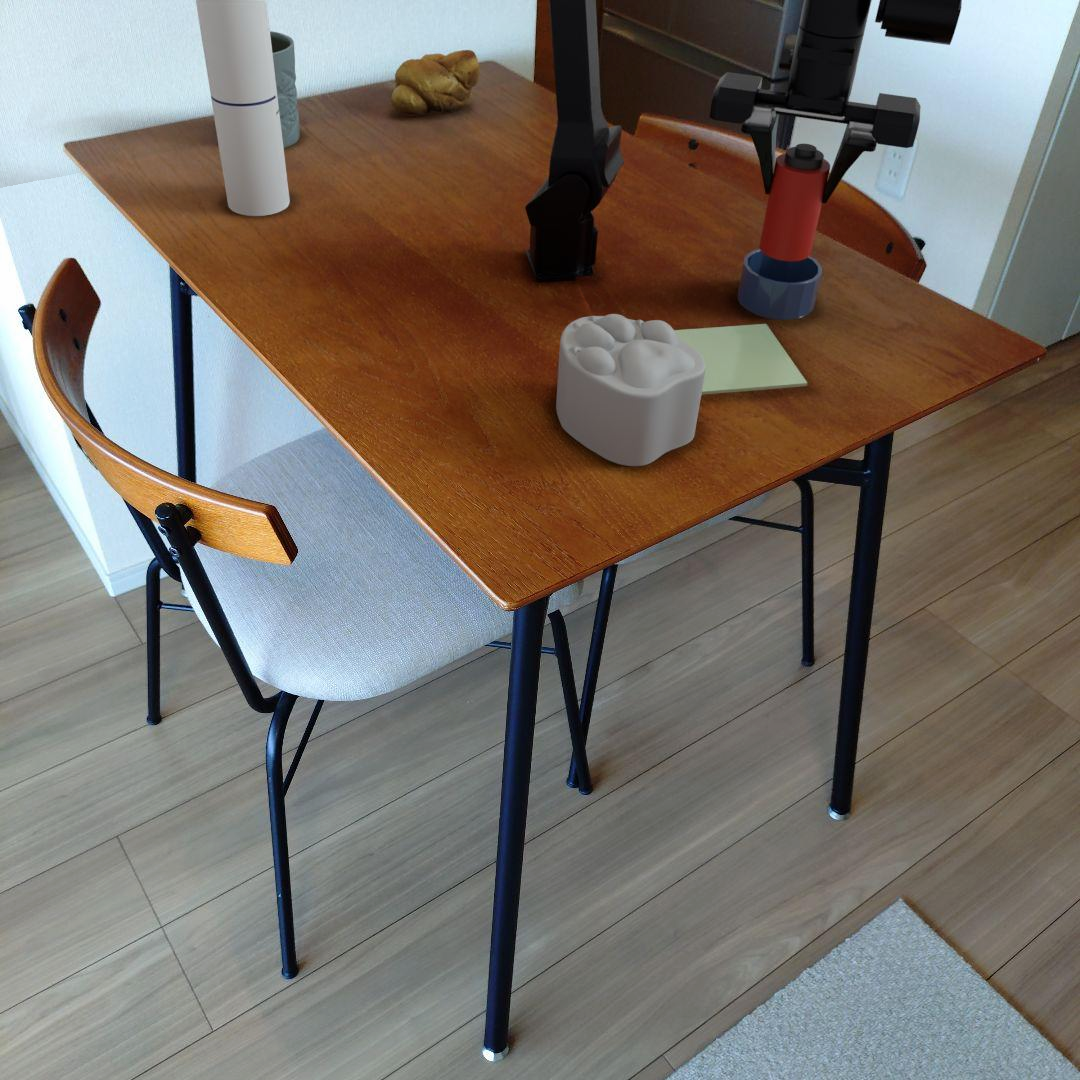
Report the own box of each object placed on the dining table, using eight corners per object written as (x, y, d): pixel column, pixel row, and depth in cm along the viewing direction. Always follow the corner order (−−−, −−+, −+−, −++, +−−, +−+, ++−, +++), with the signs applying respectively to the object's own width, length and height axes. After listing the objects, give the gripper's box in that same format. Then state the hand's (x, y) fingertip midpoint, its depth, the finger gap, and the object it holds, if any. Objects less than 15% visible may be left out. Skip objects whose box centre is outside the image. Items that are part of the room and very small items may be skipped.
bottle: (770, 262, 107) (791, 159, 100) (751, 239, 111) (770, 137, 104) (818, 259, 108) (842, 157, 101) (799, 236, 112) (820, 136, 105)
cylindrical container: (215, 208, 125) (176, -27, 109) (250, 185, 130) (218, -43, 114) (268, 220, 123) (236, -17, 107) (301, 197, 128) (276, -33, 112)
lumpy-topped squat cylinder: (625, 475, 91) (636, 389, 85) (527, 405, 98) (531, 321, 92) (710, 432, 96) (725, 348, 90) (611, 368, 103) (619, 286, 97)
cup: (752, 326, 110) (760, 286, 107) (726, 288, 116) (733, 249, 113) (824, 320, 112) (834, 281, 109) (795, 283, 117) (804, 245, 115)
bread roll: (407, 127, 146) (405, 66, 141) (373, 104, 152) (369, 45, 147) (486, 110, 152) (487, 51, 147) (450, 89, 158) (449, 31, 153)
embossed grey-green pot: (296, 154, 138) (285, 57, 130) (217, 150, 138) (201, 52, 130) (309, 125, 145) (300, 31, 138) (235, 121, 145) (221, 27, 137)
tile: (695, 399, 100) (696, 392, 99) (661, 337, 108) (662, 330, 107) (806, 389, 102) (807, 382, 101) (764, 330, 110) (766, 323, 109)
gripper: (940, 17, 99) (895, 180, 110) (739, -8, 103) (715, 153, 113) (939, 53, 91) (891, 225, 102) (722, 24, 95) (697, 194, 105)
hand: (796, 197), depth 106 cm, fingers closed on bottle, 5 cm apart
